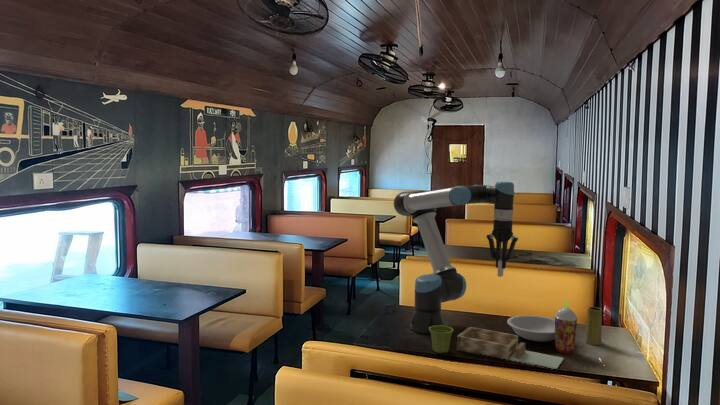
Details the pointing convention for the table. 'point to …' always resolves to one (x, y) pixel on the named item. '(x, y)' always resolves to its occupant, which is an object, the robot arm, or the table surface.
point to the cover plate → (535, 358)
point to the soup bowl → (533, 327)
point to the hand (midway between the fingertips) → (500, 275)
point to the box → (487, 342)
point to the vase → (594, 326)
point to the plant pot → (440, 338)
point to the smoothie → (565, 330)
